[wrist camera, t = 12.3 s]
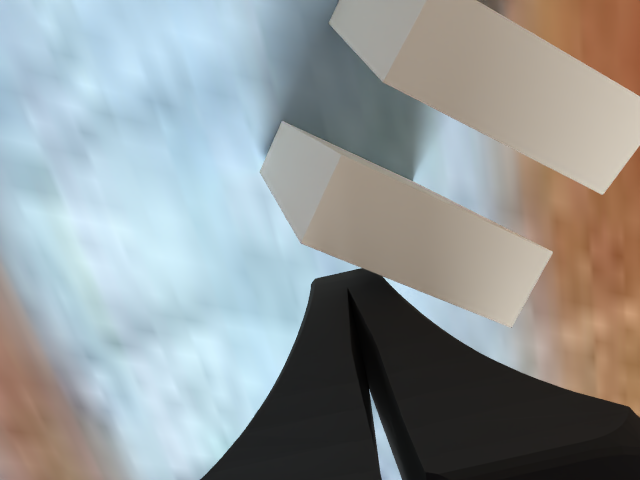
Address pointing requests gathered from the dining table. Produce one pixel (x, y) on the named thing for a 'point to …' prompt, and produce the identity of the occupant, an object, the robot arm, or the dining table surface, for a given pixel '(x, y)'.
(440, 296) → the domino
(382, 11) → the domino
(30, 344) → the dining table surface
